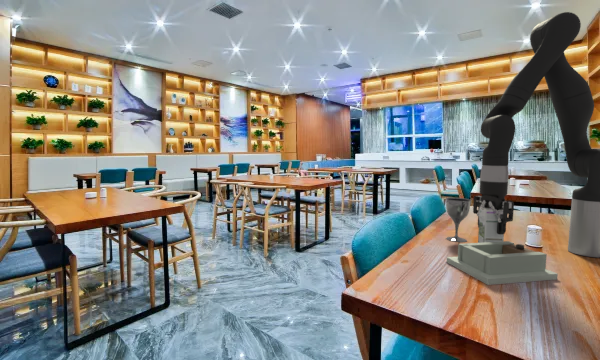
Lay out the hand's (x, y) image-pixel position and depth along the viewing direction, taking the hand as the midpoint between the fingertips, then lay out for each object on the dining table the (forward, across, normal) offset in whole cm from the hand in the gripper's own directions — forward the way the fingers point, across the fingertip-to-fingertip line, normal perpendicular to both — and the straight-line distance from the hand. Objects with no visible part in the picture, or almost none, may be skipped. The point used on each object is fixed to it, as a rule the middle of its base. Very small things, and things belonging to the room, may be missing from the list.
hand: (490, 230), depth 101 cm
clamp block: (+5, -14, +3) cm, 15 cm away
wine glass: (+7, +15, +1) cm, 17 cm away
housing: (+7, -14, +10) cm, 19 cm away
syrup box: (+7, 0, 0) cm, 7 cm away
